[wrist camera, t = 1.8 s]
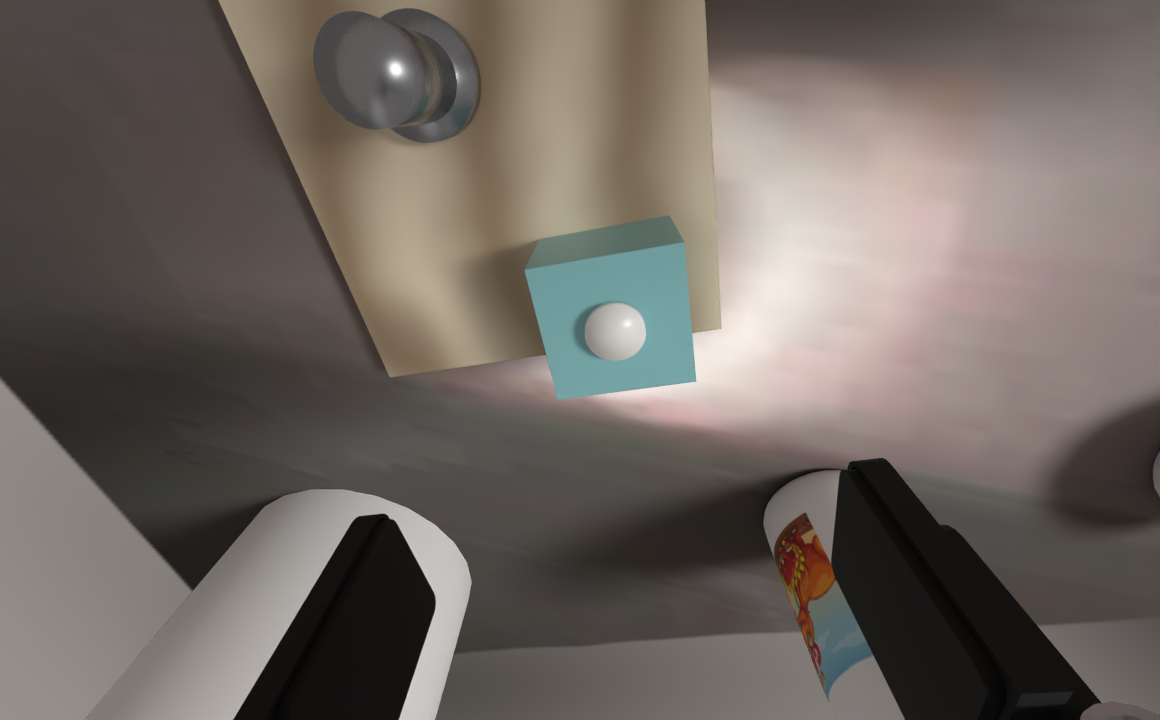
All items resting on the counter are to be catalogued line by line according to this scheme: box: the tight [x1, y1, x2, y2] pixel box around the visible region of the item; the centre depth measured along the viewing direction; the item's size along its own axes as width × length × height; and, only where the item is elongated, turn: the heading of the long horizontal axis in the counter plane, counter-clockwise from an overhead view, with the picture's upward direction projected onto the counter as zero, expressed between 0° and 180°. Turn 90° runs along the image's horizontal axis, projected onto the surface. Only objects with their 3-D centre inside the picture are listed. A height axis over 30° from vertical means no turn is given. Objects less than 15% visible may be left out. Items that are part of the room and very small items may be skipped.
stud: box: [313, 8, 481, 143], centre depth 16 cm, size 4×4×6 cm
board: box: [219, 0, 722, 377], centre depth 21 cm, size 18×18×1 cm
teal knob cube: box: [525, 215, 696, 400], centre depth 20 cm, size 6×6×5 cm
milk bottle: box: [763, 470, 905, 720], centre depth 22 cm, size 8×8×20 cm
